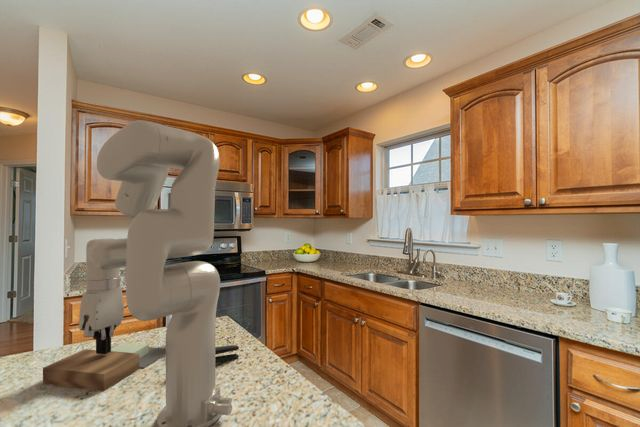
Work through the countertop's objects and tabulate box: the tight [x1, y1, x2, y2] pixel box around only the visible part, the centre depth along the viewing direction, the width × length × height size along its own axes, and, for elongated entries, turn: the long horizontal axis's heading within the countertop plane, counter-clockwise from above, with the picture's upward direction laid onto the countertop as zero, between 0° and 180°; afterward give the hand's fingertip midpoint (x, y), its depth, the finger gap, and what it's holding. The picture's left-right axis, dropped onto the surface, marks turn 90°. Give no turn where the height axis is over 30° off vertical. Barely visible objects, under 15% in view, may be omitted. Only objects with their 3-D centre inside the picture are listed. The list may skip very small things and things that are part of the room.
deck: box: [42, 349, 140, 392], centre depth 81 cm, size 18×11×4 cm, turn 79°
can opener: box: [215, 345, 240, 364], centre depth 86 cm, size 18×7×6 cm, turn 128°
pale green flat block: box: [111, 342, 150, 358], centre depth 93 cm, size 9×6×2 cm, turn 79°
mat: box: [111, 344, 166, 369], centre depth 93 cm, size 20×12×1 cm, turn 79°
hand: (103, 352), depth 84 cm, fingers closed
